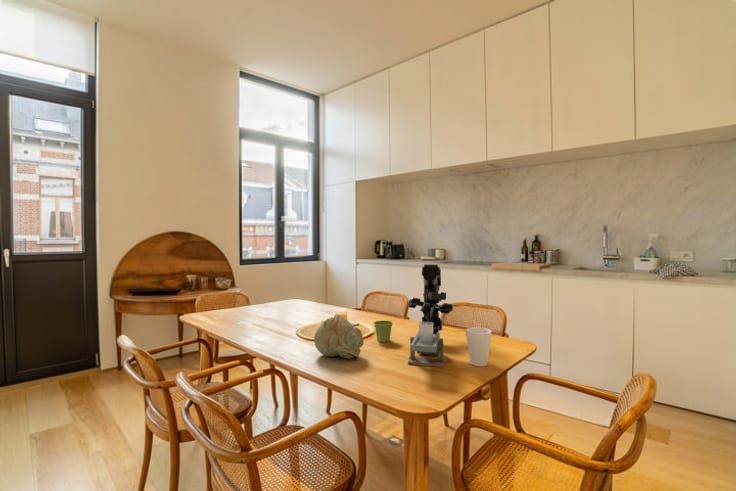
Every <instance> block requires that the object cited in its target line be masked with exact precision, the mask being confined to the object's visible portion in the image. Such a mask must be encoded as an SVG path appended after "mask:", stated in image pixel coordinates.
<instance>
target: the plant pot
mask: <svg viewBox="0 0 736 491" xmlns="http://www.w3.org/2000/svg"><path fill="white" fill-rule="evenodd" d="M373 325H374V328H375V333H376V334H375V335H376V340H377V342H379V343H385V342H390V341H391V333H392V328H393V325H394V322H393V321H392V320H376V321H373Z"/></svg>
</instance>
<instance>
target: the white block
mask: <svg viewBox="0 0 736 491" xmlns="http://www.w3.org/2000/svg"><path fill="white" fill-rule="evenodd" d="M418 331H419V342H422V343H432V342H433V322H422V320H421V321H419V323H418Z"/></svg>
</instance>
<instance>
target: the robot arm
mask: <svg viewBox="0 0 736 491" xmlns="http://www.w3.org/2000/svg"><path fill="white" fill-rule="evenodd" d="M441 271H442V270H441V268H440V266H439V264H425V263H424V264H423V266H422V269H421V277H422V279H423V283H424V284H423V293H422V297H423V301H421V298H417V297H411V298H410V299H409V300H407V301H408V302H407V308H411V309H415V308H416V307H417V306H418V307H421V309H420V310H419V311H420V312H422V314H423V316H421V321H422V322H433V334H437V332H440V331H442V330H443V321H442V319H441V317H440V313H441V314H445V315H448V314H450V313H452V312H453V311H454V306H453V305H452V303H447V302H446V303H445V302H443V303H442V304H439V303H440V302H442V301H445V300H446V299H447V292H443V291H442V292H439V291H440V287H441V286H442V275H441V274H442V273H441Z"/></svg>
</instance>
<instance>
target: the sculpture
mask: <svg viewBox="0 0 736 491" xmlns="http://www.w3.org/2000/svg"><path fill="white" fill-rule="evenodd" d="M313 340H314V345H315V349H316V350H317V351H318V353H320V354H322V355H323V356H325V357H332V358H333V357H336V356H340V357H341V358H345V359H349V360H352V359H354V357H357V358H358V357H360V356H359V355H360V353H361V352H362V351H361V350H362V349H361V348H362V347H363V346H364V343H365V342H364V341H365V340H364V337H363V334H362V331H361V329H359V328H358V327H355V325H353V324H352V323H351V322H350V321H349V320H348V319H347V318H345V317H344V316H343V315H341V314H337V313H335V314H334V316H331V317H329V318H326V320H324V321H323V323H322V324H321V325H320V326H319V327H318V328H317V329H316V331H315V333H314V339H313Z"/></svg>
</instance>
